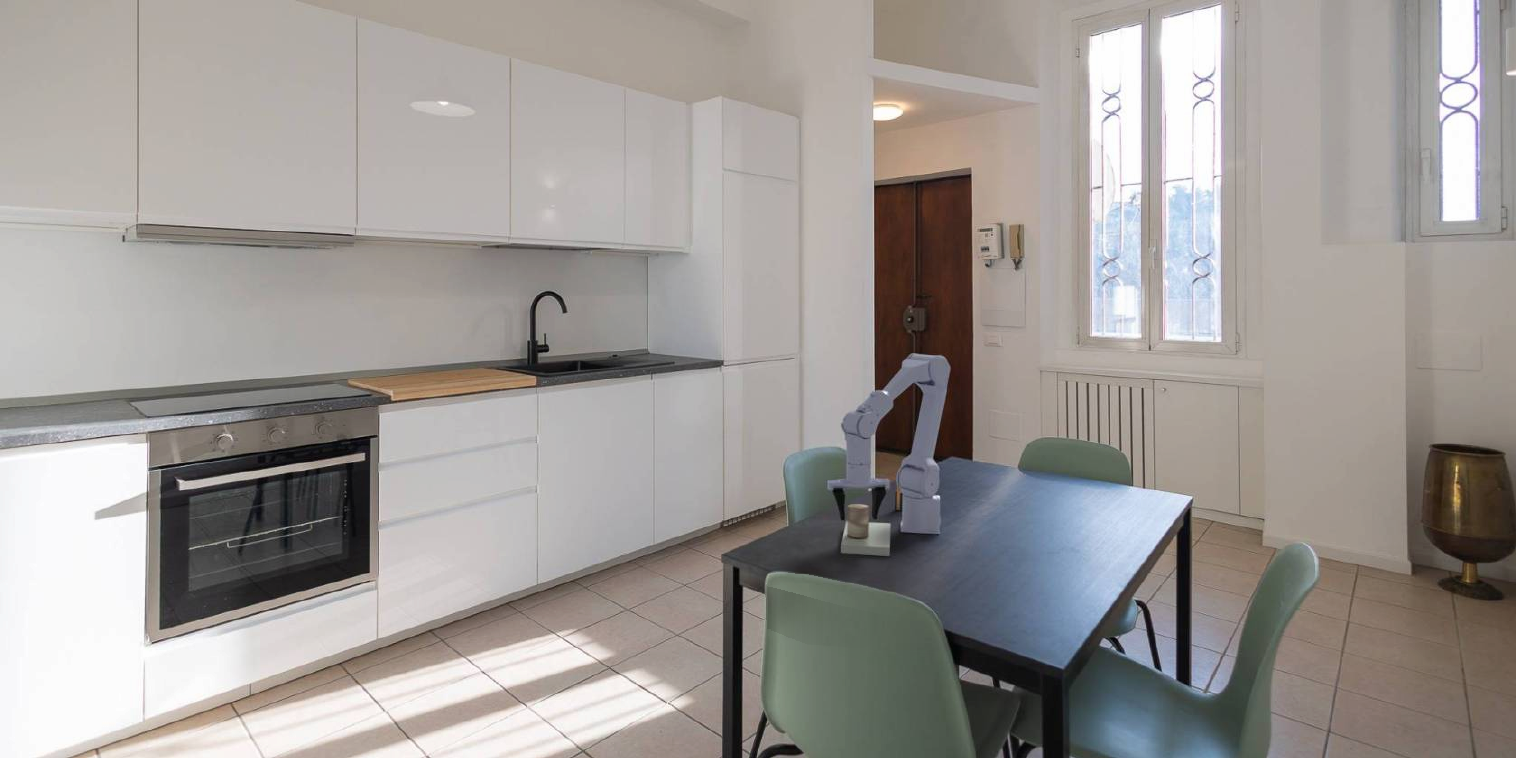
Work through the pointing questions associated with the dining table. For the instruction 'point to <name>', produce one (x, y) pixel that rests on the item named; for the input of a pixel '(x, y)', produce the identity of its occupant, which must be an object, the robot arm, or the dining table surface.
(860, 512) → the peg
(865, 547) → the board
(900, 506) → the ammunition clip
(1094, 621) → the dining table surface
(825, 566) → the dining table surface
